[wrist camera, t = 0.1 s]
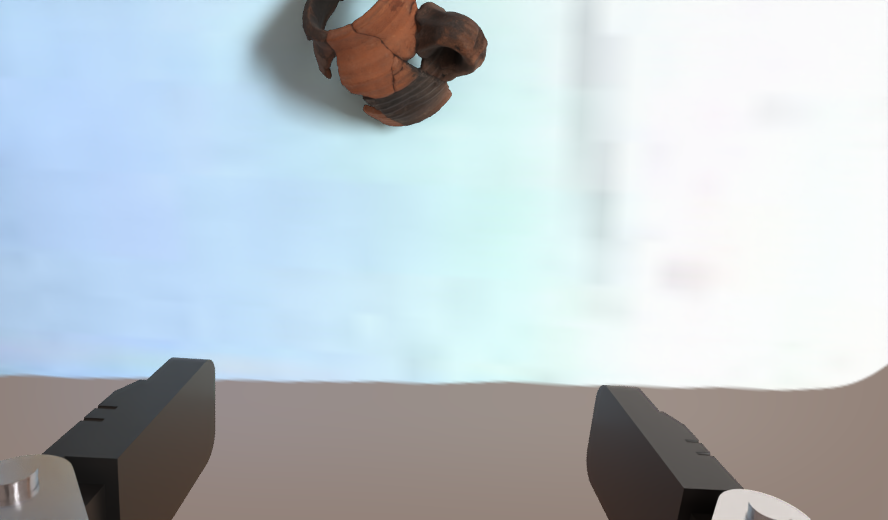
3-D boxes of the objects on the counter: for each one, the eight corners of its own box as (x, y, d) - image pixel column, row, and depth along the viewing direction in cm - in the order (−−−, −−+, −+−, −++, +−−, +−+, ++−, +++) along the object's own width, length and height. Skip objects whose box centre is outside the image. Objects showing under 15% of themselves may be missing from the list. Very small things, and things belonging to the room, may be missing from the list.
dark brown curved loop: (347, 135, 40) (267, 58, 33) (392, 30, 42) (326, -61, 36) (492, 141, 34) (429, 47, 27) (536, 17, 36) (488, -97, 29)
